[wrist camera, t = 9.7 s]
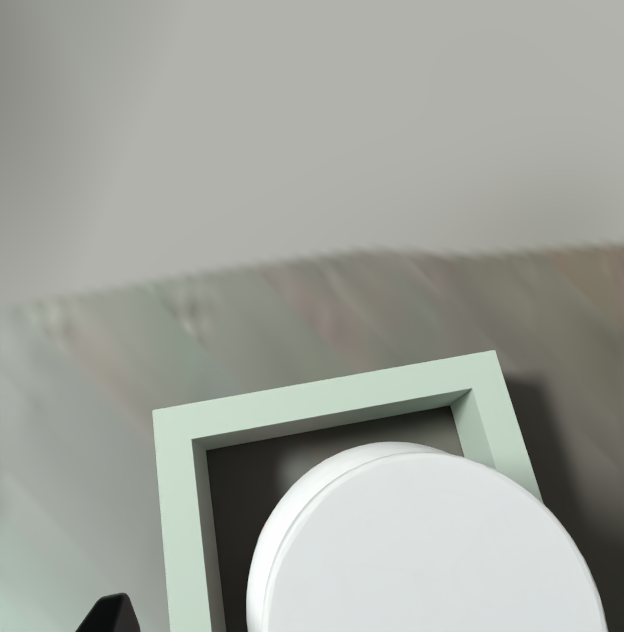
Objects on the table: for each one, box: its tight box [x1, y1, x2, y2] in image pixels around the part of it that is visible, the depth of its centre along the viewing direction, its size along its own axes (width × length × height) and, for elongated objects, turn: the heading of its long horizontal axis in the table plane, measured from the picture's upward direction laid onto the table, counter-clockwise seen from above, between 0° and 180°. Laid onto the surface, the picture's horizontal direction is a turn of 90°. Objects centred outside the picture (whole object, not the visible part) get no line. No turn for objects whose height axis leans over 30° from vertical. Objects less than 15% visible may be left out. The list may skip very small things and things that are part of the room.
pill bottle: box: [246, 442, 608, 632], centre depth 12 cm, size 6×6×10 cm
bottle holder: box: [152, 350, 543, 632], centre depth 15 cm, size 10×10×2 cm
